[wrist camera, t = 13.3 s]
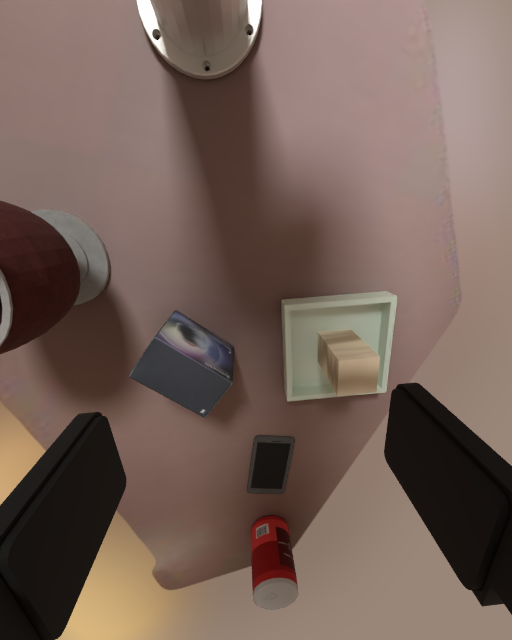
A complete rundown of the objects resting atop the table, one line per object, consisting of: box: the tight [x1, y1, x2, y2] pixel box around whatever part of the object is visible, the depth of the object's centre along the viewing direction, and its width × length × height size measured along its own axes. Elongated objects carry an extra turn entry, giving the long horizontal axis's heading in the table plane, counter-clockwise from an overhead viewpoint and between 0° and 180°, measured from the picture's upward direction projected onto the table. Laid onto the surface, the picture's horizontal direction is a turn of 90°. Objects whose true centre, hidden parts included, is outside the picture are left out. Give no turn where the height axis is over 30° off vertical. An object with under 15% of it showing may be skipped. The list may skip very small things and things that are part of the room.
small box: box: [129, 310, 234, 418], centre depth 36 cm, size 11×6×10 cm, turn 54°
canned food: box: [251, 516, 298, 610], centre depth 50 cm, size 8×8×11 cm
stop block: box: [318, 329, 380, 396], centre depth 37 cm, size 5×5×9 cm
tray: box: [281, 291, 397, 402], centre depth 40 cm, size 16×16×3 cm
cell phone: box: [247, 435, 295, 494], centre depth 50 cm, size 7×14×1 cm, turn 173°
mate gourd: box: [0, 201, 110, 354], centre depth 26 cm, size 16×14×20 cm
